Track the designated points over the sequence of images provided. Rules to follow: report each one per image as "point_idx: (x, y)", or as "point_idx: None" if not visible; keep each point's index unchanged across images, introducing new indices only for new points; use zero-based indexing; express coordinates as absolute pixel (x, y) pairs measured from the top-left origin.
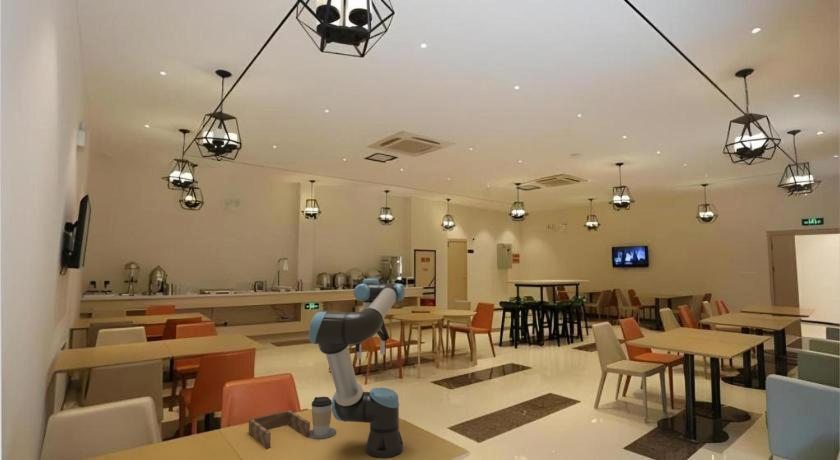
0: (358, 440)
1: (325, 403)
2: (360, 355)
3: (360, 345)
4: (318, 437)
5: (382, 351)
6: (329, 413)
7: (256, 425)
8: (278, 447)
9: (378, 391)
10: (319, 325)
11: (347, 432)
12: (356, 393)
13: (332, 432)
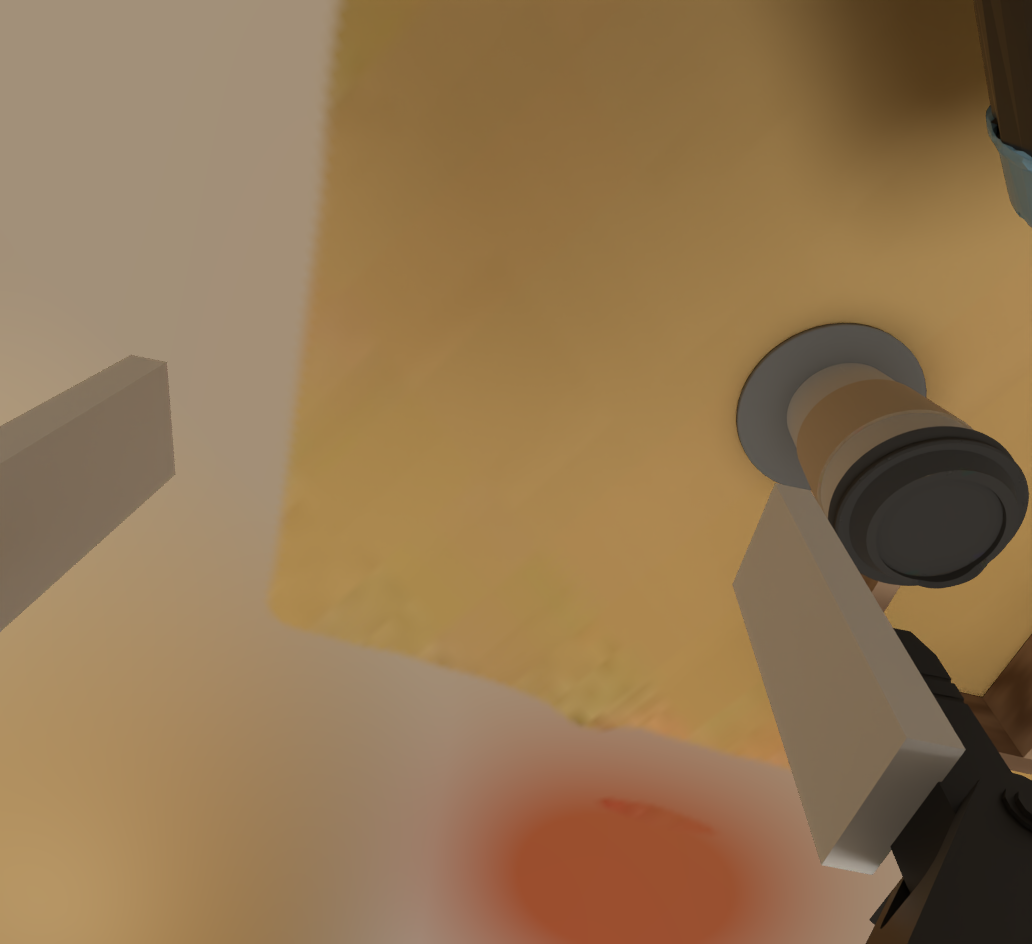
0: (818, 103)
1: (975, 453)
2: (825, 533)
3: (934, 728)
4: (916, 370)
5: (128, 427)
6: (894, 404)
7: None
8: None
9: None
10: None
11: (730, 288)
12: None
13: (803, 356)
